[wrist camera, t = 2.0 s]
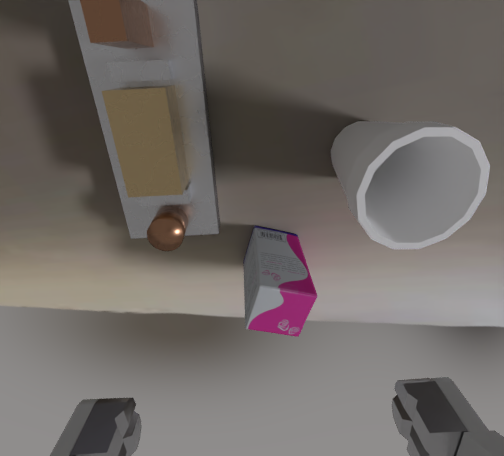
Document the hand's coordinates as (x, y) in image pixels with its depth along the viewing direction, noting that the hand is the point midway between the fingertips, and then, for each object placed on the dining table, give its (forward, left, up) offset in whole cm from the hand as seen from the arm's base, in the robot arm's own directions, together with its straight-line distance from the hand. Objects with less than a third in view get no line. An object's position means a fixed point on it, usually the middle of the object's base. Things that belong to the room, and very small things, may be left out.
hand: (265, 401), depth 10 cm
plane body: (-4, -9, -27) cm, 29 cm away
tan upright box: (-4, -9, -25) cm, 26 cm away
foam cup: (-1, +12, -27) cm, 30 cm away
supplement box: (+11, +2, -28) cm, 30 cm away
